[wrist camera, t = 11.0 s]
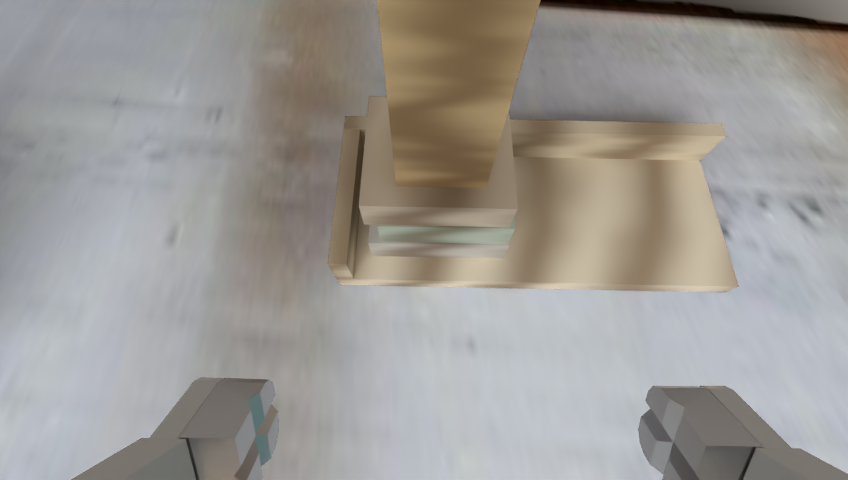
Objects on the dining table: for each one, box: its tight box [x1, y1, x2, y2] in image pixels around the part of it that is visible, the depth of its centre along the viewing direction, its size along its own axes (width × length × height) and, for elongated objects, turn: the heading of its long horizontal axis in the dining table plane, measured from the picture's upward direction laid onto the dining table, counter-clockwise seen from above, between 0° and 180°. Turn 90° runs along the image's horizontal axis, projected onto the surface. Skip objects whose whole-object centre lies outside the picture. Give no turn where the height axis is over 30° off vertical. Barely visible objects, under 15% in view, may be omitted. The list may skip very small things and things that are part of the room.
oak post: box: [377, 0, 540, 188], centre depth 16 cm, size 4×4×11 cm
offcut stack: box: [359, 96, 518, 259], centre depth 23 cm, size 8×7×6 cm
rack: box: [328, 116, 739, 292], centre depth 25 cm, size 24×10×4 cm, turn 89°
